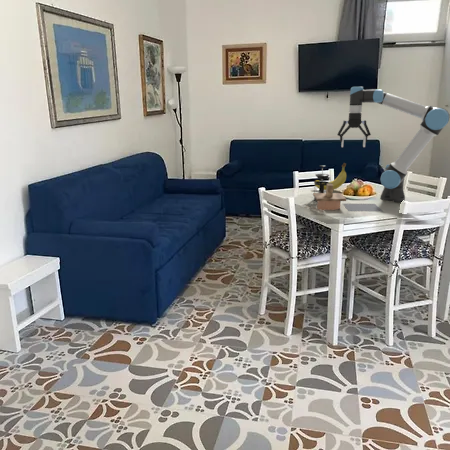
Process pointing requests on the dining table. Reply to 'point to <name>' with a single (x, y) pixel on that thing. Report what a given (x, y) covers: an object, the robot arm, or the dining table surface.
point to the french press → (321, 182)
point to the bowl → (328, 205)
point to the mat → (362, 207)
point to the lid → (329, 195)
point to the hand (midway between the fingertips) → (353, 147)
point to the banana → (338, 180)
